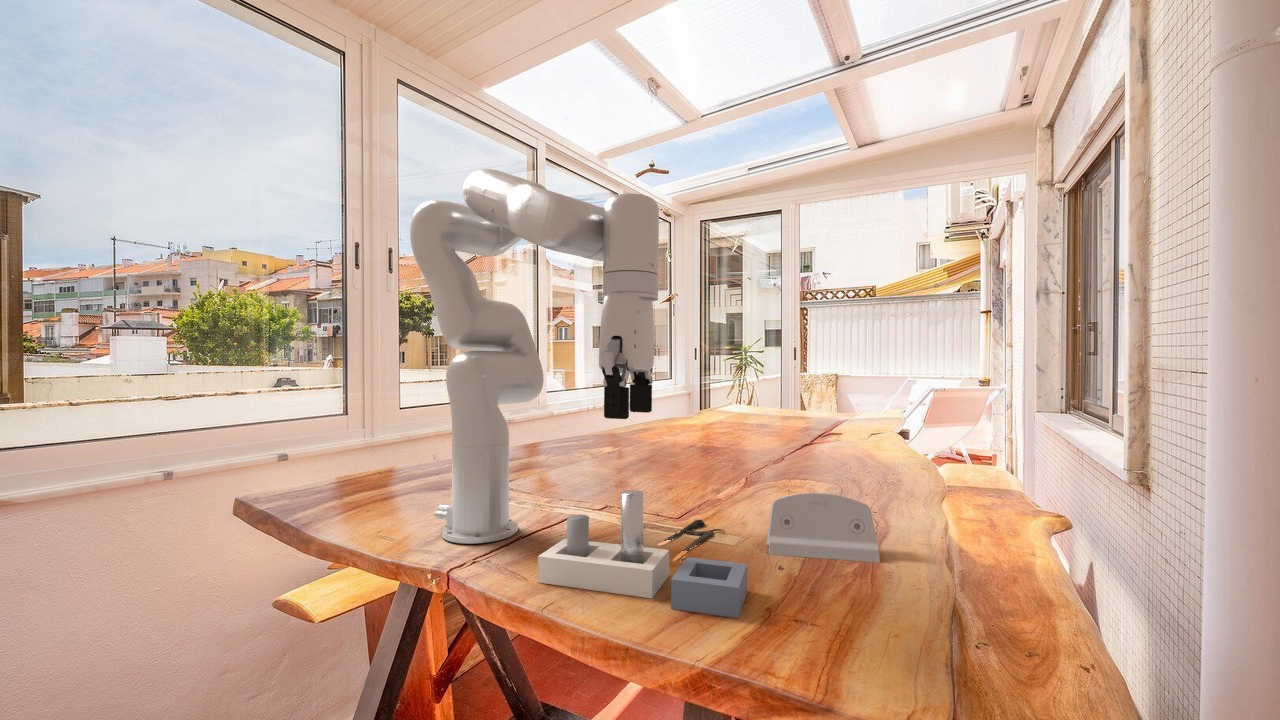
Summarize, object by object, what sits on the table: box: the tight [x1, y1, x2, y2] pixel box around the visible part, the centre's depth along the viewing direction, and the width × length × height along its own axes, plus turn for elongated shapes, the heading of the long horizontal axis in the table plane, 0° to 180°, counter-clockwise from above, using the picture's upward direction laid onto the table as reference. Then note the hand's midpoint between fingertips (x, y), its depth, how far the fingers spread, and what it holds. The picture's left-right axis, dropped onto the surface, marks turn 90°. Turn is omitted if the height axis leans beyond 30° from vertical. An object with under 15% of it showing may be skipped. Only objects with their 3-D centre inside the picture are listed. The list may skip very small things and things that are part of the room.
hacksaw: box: [664, 519, 726, 552], centre depth 88 cm, size 24×10×2 cm, turn 147°
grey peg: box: [620, 489, 644, 564], centre depth 73 cm, size 3×3×12 cm
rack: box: [537, 514, 670, 599], centre depth 74 cm, size 16×8×8 cm, turn 72°
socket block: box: [670, 556, 748, 619], centre depth 68 cm, size 8×8×4 cm
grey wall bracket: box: [766, 492, 881, 564], centre depth 86 cm, size 17×5×10 cm, turn 77°
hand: (629, 415), depth 74 cm, fingers open, 9 cm apart
